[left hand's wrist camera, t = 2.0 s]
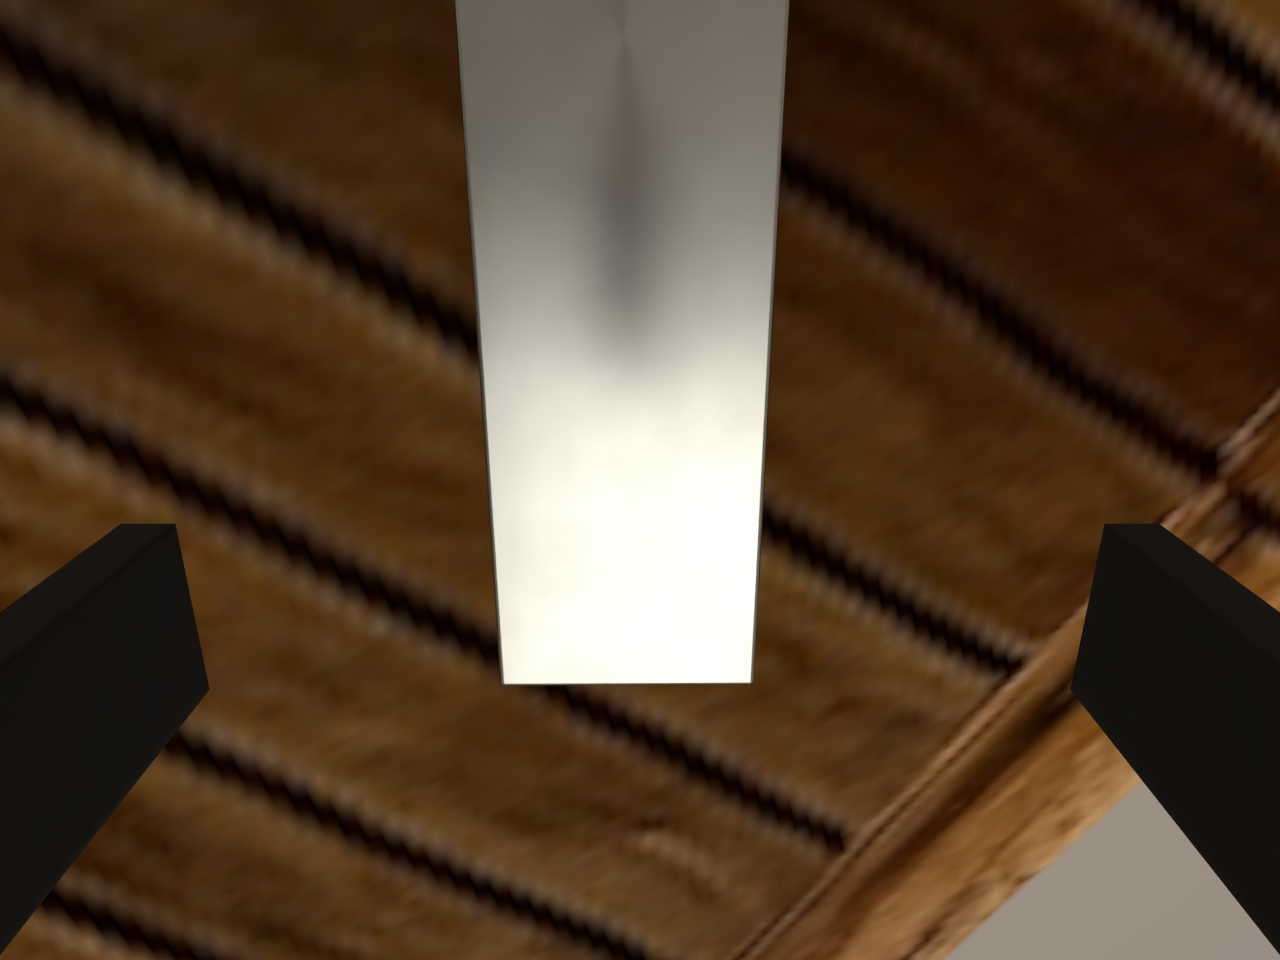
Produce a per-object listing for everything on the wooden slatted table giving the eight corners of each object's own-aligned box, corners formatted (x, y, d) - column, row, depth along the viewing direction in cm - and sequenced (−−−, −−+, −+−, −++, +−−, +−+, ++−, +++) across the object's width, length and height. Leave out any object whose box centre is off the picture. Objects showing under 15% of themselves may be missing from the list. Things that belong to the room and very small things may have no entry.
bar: (715, 510, 27) (754, 686, 18) (542, 511, 27) (500, 687, 18) (749, -561, 18) (855, -1199, 9) (496, -562, 18) (371, -1203, 9)
